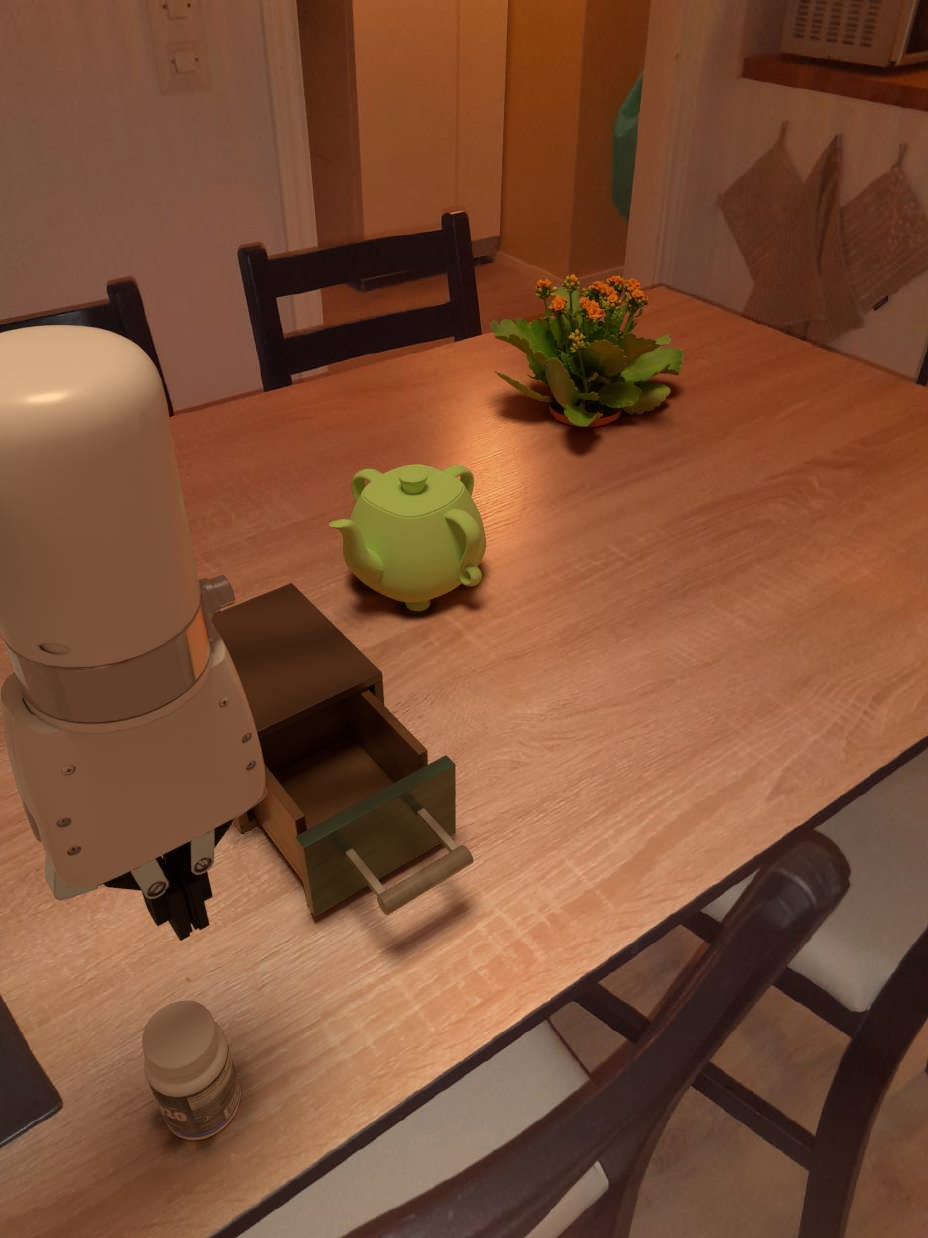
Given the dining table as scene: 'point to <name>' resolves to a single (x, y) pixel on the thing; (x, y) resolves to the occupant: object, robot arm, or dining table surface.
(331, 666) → the cabinet
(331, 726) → the drawer
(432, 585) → the teapot
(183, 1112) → the pill bottle
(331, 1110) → the dining table surface
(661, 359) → the potted flower
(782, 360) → the dining table surface
